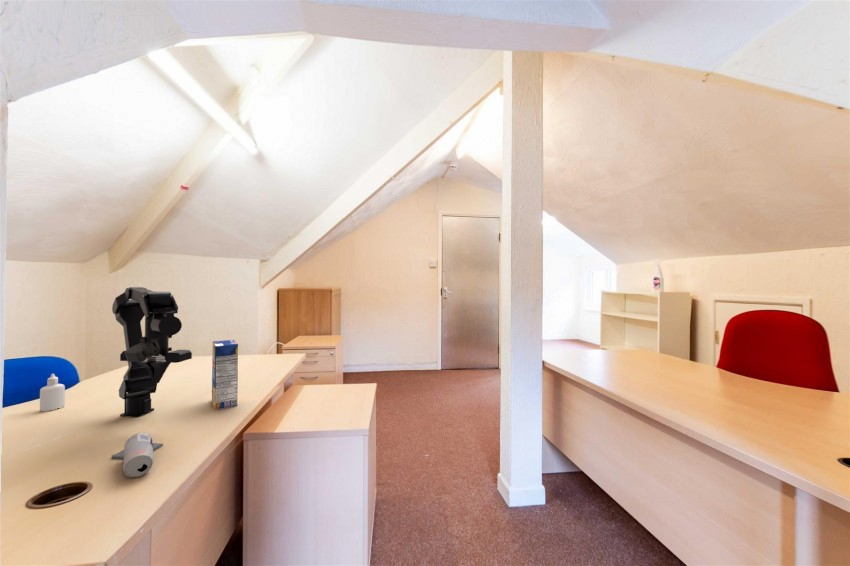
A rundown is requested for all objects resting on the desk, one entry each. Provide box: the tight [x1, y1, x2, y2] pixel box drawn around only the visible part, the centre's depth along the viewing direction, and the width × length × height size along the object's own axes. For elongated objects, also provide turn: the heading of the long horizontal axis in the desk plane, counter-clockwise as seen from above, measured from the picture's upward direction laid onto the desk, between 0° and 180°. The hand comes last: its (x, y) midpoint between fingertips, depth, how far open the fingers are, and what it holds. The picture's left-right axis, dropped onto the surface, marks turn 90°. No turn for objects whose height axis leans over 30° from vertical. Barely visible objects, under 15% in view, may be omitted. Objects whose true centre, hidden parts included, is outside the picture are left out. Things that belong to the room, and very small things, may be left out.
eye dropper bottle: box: [39, 373, 66, 413], centre depth 115 cm, size 4×6×12 cm
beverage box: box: [211, 339, 239, 411], centre depth 123 cm, size 7×11×22 cm, turn 37°
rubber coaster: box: [111, 442, 164, 460], centre depth 88 cm, size 7×7×1 cm
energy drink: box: [122, 432, 155, 478], centre depth 81 cm, size 5×5×12 cm
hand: (156, 383), depth 103 cm, fingers closed
